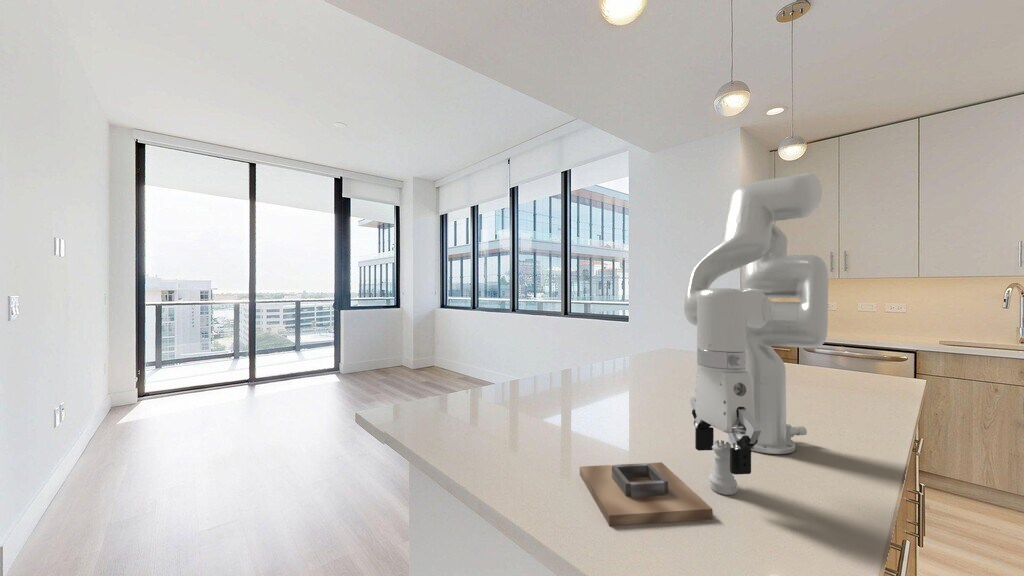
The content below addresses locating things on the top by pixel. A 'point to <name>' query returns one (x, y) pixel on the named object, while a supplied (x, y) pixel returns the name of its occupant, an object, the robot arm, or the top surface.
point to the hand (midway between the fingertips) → (721, 460)
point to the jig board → (642, 494)
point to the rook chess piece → (722, 470)
